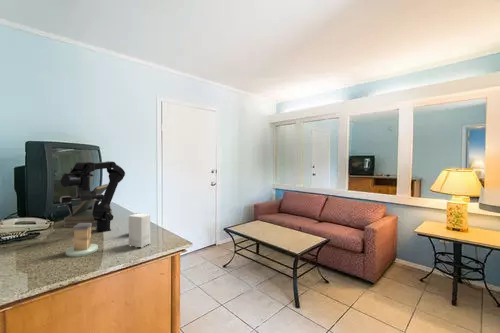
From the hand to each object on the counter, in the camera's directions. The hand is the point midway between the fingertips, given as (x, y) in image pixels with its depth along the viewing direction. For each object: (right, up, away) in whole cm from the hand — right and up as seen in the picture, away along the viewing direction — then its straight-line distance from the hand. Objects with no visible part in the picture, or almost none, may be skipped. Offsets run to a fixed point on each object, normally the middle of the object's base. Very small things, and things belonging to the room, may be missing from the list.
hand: (82, 214), depth 124 cm
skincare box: (+34, -15, -7) cm, 37 cm away
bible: (-18, -12, +31) cm, 38 cm away
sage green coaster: (+12, -14, -17) cm, 25 cm away
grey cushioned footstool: (+12, -12, -17) cm, 24 cm away
